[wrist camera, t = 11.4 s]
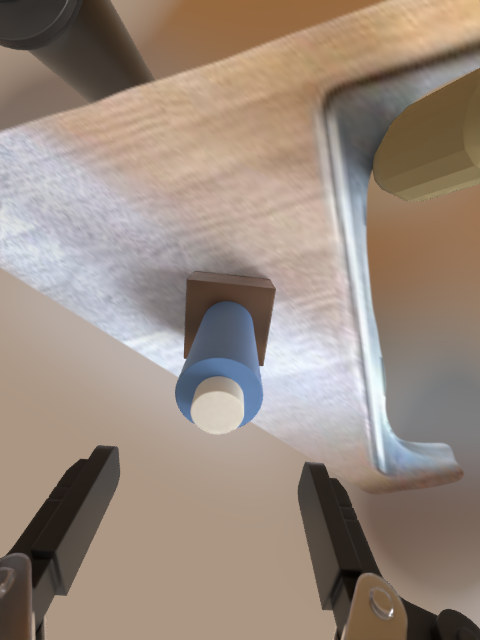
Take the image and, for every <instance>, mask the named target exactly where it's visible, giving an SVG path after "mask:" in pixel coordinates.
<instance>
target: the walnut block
mask: <svg viewBox="0 0 480 640" xmlns="http://www.w3.org/2000/svg"><path fill="white" fill-rule="evenodd" d="M275 291H276V289H275V287H274V285H273V284H272V282H271V280H270V279H261V278H252V277H243V276H234V275H225V274H216V273H207V272H198V271H195V272H194V273H193V274H192V275H191V276H190V277H189V278H188V279H187V289H186V314H185V340H184V359H187V357H188V354H189V352H190V349H191V347H192V344H193V342H194V339H195V337H196V334H197V332H198V329H199V327H200V324H201V322H202V319H203V317H204V315H205V313H206V311H207V310H208V309H209V308H210V307H211V306H213V305H214V304H216V303H219V302H224V301H231V302H235V303H238V304H240V305H242V306H243V307H244V308H246V310H247V311H248V312H249V313H250V315H251V318H252V321H253V327H254V334H255V341H256V348H257V354H258V361H259V366H263V365H264V359H265V353H266V346H267V340H268V334H269V328H270V322H271V316H272V310H273V304H274V298H275Z"/></svg>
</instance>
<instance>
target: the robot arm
mask: <svg viewBox="0 0 480 640" xmlns="http://www.w3.org/2000/svg"><path fill="white" fill-rule="evenodd" d="M9 1H14V0H0V2H9ZM119 477H120V465H119V451H118V447H115V446H102V445H99V446H97V447H96V448H95V449H94V451H93V452H92V454H91V456H90V457H89V459H80V460H79V461H77V462H76V463H75V464H74V465H73V466H71V467H70V468H69V469H68V470H67V471H66V473H65V474H64V475H63V477H62V478H61V480H60V481H59V482H58V484H57V486H56V487H55V488H54V489H53V491H52V492H51V494H50V495H49V498H48V499H46V501H45V502H44V504H43V505H42V507H41V508H40V510H39V511H38V512H37V514H36V515H35V517H34V518H33V519H32V521H31V522H30V524H29V525H28V527H27V528H26V530H25V531H24V532H23V534H22V535H21V536H20V538H19V539H18V541H17V542H16V544H15V545H14V546H13V548H12V549H11V550H10V551H9V552H8V553H7V554H6V556H4V557H2V558H0V640H47V623H46V612H47V610H48V608H49V606H50V604H51V602H52V600H53V598H54V596H55V595H64V596H66V595H67V593H68V591H69V589H70V587H71V585H72V583H73V580H74V578H75V576H76V574H77V572H78V569H79V568H80V566H81V563H82V561H83V559H84V557H85V555H86V553H87V550H88V548H89V546H90V544H91V542H92V540H93V538H94V535H95V533H96V531H97V529H98V527H99V525H100V522H101V520H102V518H103V516H104V514H105V512H106V510H107V507H108V505H109V503H110V501H111V499H112V497H113V495H114V492H115V490H116V487H117V485H118V481H119ZM298 500H299V506H300V511H301V515H302V519H303V524H304V529H305V533H306V538H307V542H308V547H309V551H310V556H311V560H312V565H313V570H314V574H315V579H316V583H317V588H318V592H319V597H320V601H321V605H322V610H333V613H334V617H335V621H336V627H335V630H334V634H333V638H332V640H480V629H479V628H478V627H477V625H476V624H474V623H473V622H472V621H471V620H470V619H468V618H467V617H466V616H464V615H463V614H461V613H460V612H457V611H455V610H451V609H446V610H443V611H442V612H441V613H440V614H439V615H438V616H437V615H435V614H433V613H431V612H429V611H426V610H424V609H422V608H420V607H418V606H416V605H414V604H411V603H410V602H408V601H406V600H404V599H403V598H401V597H400V596H399V595H398V594H397V592H396V591H395V589H394V588H393V587H392V586H391V585H390V584H389V583H388V582H387V581H386V580H385V579H384V578H383V577H382V575H381V573H380V571H379V569H378V567H377V565H376V562H375V560H374V557H373V555H372V552H371V550H370V547H369V545H368V542H367V541H366V538H365V535H364V533H363V530H362V528H361V525H360V523H359V521H358V520H357V516H356V513H355V511H354V509H353V508H352V504H351V501H350V499H349V496H348V494H347V492H346V490H345V489H344V487H343V486H342V485H341V484H340V482H339V481H338V480H337V479H336V478H329V475H328V472H327V470H326V467H325V465H324V464H323V463H314V462H305V464H304V467H303V470H302V474H301V478H300V481H299V485H298Z"/></svg>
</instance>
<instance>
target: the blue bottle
mask: <svg viewBox="0 0 480 640" xmlns="http://www.w3.org/2000/svg"><path fill="white" fill-rule="evenodd" d="M175 396H176V402H177V405H178V407H179V409H180V411H181V412H182V413H183V415H184V416H185V417H186V418H187V419H188V420H189V421H191V422H192V423H194V424H195V425H196V426H198V427H199V428H200V429H201V430H203V431H205V432H208V433H212V434H225V433H228V432H231V431H233V430H234V429H236V428H238V427H241V426H243V425H245V424H246V423H248V422H249V421H251V420H252V419H253V418H254V417H255V415H256V414H257V413H258V411H259V409H260V407H261V405H262V401H263V388H262V382H261V375H260V368H259V361H258V354H257V348H256V341H255V334H254V327H253V321H252V318H251V315H250V313H249V312H248V311H247V310H246V308H244V307H243V306H242V305H240V304H238V303H235V302H231V301H224V302H219V303H216V304H214V305H213V306H211V307H210V308H209V309H208V310H207V311H206V313H205V315H204V317H203V319H202V322H201V324H200V327H199V329H198V332H197V334H196V337H195V339H194V342H193V344H192V347H191V349H190V352H189V354H188V357H187V359H186V361H185V364H184V366H183V369H182V371H181V374H180V376H179V379H178V381H177V384H176V390H175Z"/></svg>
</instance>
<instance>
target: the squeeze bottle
mask: <svg viewBox="0 0 480 640" xmlns="http://www.w3.org/2000/svg"><path fill="white" fill-rule="evenodd" d="M372 170H373V174H374V179H375V181H376V183H377V184H378V185H379V187H380V188H381V189H383V190H385V191H387V192H389V193H391V194H393V195H395V196H397V197H399V198H401V199H403V200H405V201H424V200H428V199H431V198H434V197H438V196H441V195H444V194H447V193H451V192H454V191H457V190H461V189H464V188H467V187H470V186H474V185H477V184H480V68H479V69H477V70H475V71H473V72H471V73H470V74H468V75H466V76H464V77H462V78H460V79H458V80H456V81H455V82H453V83H451V84H449V85H447V86H445V87H443V88H441V89H440V90H438V91H436V92H434V93H432V94H430V95H428V96H426V97H425V98H423V99H421V100H419V101H417V102H415V103H413V104H411V105H410V106H408V107H407V108H406V109H405V110H404V111H403V112H402V113H401V114H400V115H399V116H398V117H397V118H396V119H395V120H394V121H393V122H392V124H391V125H390V127H389V129H388V131H387V133H386V134H385V136H384V138H383V140H382V141H381V143H380V145H379V147H378V149H377V151H376V153H375V155H374V161H373V167H372Z"/></svg>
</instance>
